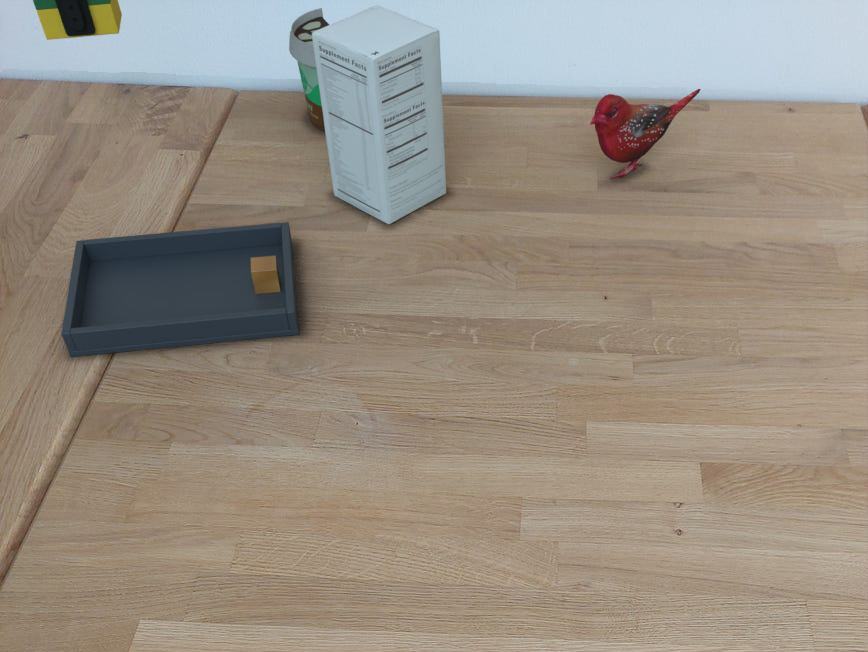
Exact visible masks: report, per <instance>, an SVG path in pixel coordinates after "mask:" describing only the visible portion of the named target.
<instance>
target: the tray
mask: <svg viewBox="0 0 868 652" xmlns="http://www.w3.org/2000/svg"><path fill="white" fill-rule="evenodd" d="M291 233H292V232H291V228H290V223H289V221H286V222H284V221H283V222H274V223H273V222H272V223H261V224H259V223H258V224H248V225H237V226H229V227H228V226H225V227H217V228H215V227H214V228H204V229H203V228H202V229H194V230H192V229H191V230H183V231H181V230H180V231H169V232H159V233H148V234H135V235H125V236H123V235H122V236H114V237H102V238H91V239H90V238H89V239H80V240H76V241H75V247H74V253H73V260H72V266H71V272H70V279H69V283H68V284H69V285H68V289H67V290H68V291H67V296H66V297H67V298H66V303H65V308H64V315H63V321H62V329H61V332H60V333H61V334H60V335H61V338H62V339H63V342H64V344H65V346H66V349H67V351H68V354H69V356H70V357H71V358H74V357H75V358H76V357H84V356H95V355H105V354H114V353H115V354H116V353H124V352H134V351H135V352H136V351H146V350H147V351H148V350H155V349H157V350H158V349H165V348H177V347H188V346H196V345H197V346H198V345H207V344H216V343H227V342H237V341H247V340H257V339H258V340H259V339H267V338H269V339H270V338H277V337H288V336H297V335H298V336H299V335H300V327H299V315H298V314H299V313H298V300H297V299H298V298H297V286H296V274H295V272H296V271H295V261H294V260H295V259H294V246H293V245H294V244H293V238H292V234H291ZM265 256H276V259H277V264H278V269H279V275H280V285H281V292H275V293H264V294H256V293H255V288H254V284H253V279H252V275H251V258H254V257H265Z"/></svg>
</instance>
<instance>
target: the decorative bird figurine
mask: <svg viewBox="0 0 868 652" xmlns="http://www.w3.org/2000/svg"><path fill="white" fill-rule="evenodd" d="M700 91H701V88H698V89H696V90H694V91H692V92H691V93H689V94H687V95H686V96H684V97H683V98H681V99H679V100H677V101H676V102H675V103H673V104H672V105H669V106H666V105H663V104H656V103H641V104H631V103H629V102H628V101H627V100H626V99H625V98H624V97H622V96H621V95H618V94H612V93H609V94H605V95H604V96H603V97H601V98H600V100H599V101H598V103H597V104H596V107H595V110H594V115H593V117H592V118H591V121H590V123H589V126H591V125H594V130H595V132H596V136H597V141H598V145H599V147H600V150H601V151H602V153H603V154H604V156H606V158H608V159H609V160H611V161H612V162H613V161H614V162H617V163H620V164H625V163H626V164H627V163H628V165H627V166H626V167H625V168H624V169H621V170H619V172H618V173H617V174H615V175H613V176H611V177H609V180H613V179H615V178H623V177H626V176H627V175H628V174H630V173H631V172H633V171H635V170H638V167H639V166H643V164H642V162H638V161H639V160H640V159H641V158H642V157H643V156H645V155H647V153H648V152H649V151H650V150H651V149H652V148H653V147H654V146H655V144H657V142H659V141H660V140H661V139H662V138H663V136H664V135H665V134H666V132H667V131H668V128H669V127H670V125H671V124H672V122H673V120H674V119H675V117H676V116H677V115H678V114H679V113H680V112H681V111H682V110H683V109H684V108H685V107H686V106H687V105H689V103H690V102H691V101H693V99H694V98H695V97H697V96H698V95H699V94H700Z"/></svg>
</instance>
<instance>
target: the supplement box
mask: <svg viewBox="0 0 868 652" xmlns="http://www.w3.org/2000/svg"><path fill="white" fill-rule="evenodd" d="M440 34H441V33H440V30H439V29H438V28H436V27H433V26H431V25H429V24H425V23H423V22H422V21H418V20H416V19H413V18H410V17H408V16H405V15H403V14H401V13H398V12H396V11H393V10H391V9H388V8H385V7H383V6H380V5H379V4H378V5H374V6H371V7H368V8H366V9H363V10H361V11H359V12H356V13H355V14H352V15H350V16H348V17H345V18H343V19H340V20H338V21H336V22H333V23H331V24H329V25H328V26H326V27H324V28H321V29H319V30H317V31H315V32H313V33H312V40H313V47H314V54H315V61H316V68H317V75H318V83H319V90H320V97H321V104H322V111H323V118H324V126H325V132H324V133H325V141H326V149H327V155H328V162H329V163H328V164H329V168H330V169H329V170H330V176H331V185H332V191H333V195H334V197H337V198H338V199H340V200H342V201H344V202H345V203H348V204H349V205H351V206H352V207H354V208H356V209H359V210H360V211H363V212H364V213H365V214H368V215H370V216H372V217H374V218H375V219H377V220H379V221H380V222H383V223H385V224H386V225H392V224H393V223H394V222H397V221H398V220H400V219H402V218H403V217H405V216H407V215H409V214H411V213H412V212H415V211H416V210H418V209H420V208H422V207H424V206H425V205H428V204H429V203H431V202H433V201H434V200H437V199H438V198H440V197H442V196H444V195H446V194H447V178H446V177H447V176H446V173H447V172H446V154H445V153H446V151H445V132H444V129H445V128H444V107H443V85H442V60H441V35H440Z"/></svg>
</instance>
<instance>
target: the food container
mask: <svg viewBox="0 0 868 652" xmlns="http://www.w3.org/2000/svg"><path fill="white" fill-rule="evenodd" d="M328 25H330V23H328V21H326V19H325V18H324V12H323V7H320V8H319V7H318V8H315V9H312V10H309V11H308V12H305V13H303V14H301V15H300V16H298V17H297V18H296V19H295V20H294V21H293V23H292V25H291V29H290V31H289V41H288V42H289V43H288V46H289V47H288V50H289V53H290V55H291V57H292V58H293V59H295V60H296V62H297V67H298V71H299V76H300V80H301V84H302V90H303V93H304V98H305V102H306V107H307V113H308V117H309V121H310V124H311V125H312V126H313V127H314V128H315V129H317V130H318V131H320V132H324V133H325V126H324V118H323V111H322V104H321V97H320V90H319V83H318V75H317V68H316V61H315V54H314V47H313V40H312V33H313V32H315V31H317V30H319V29H321V28H324V27H326V26H328Z"/></svg>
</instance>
